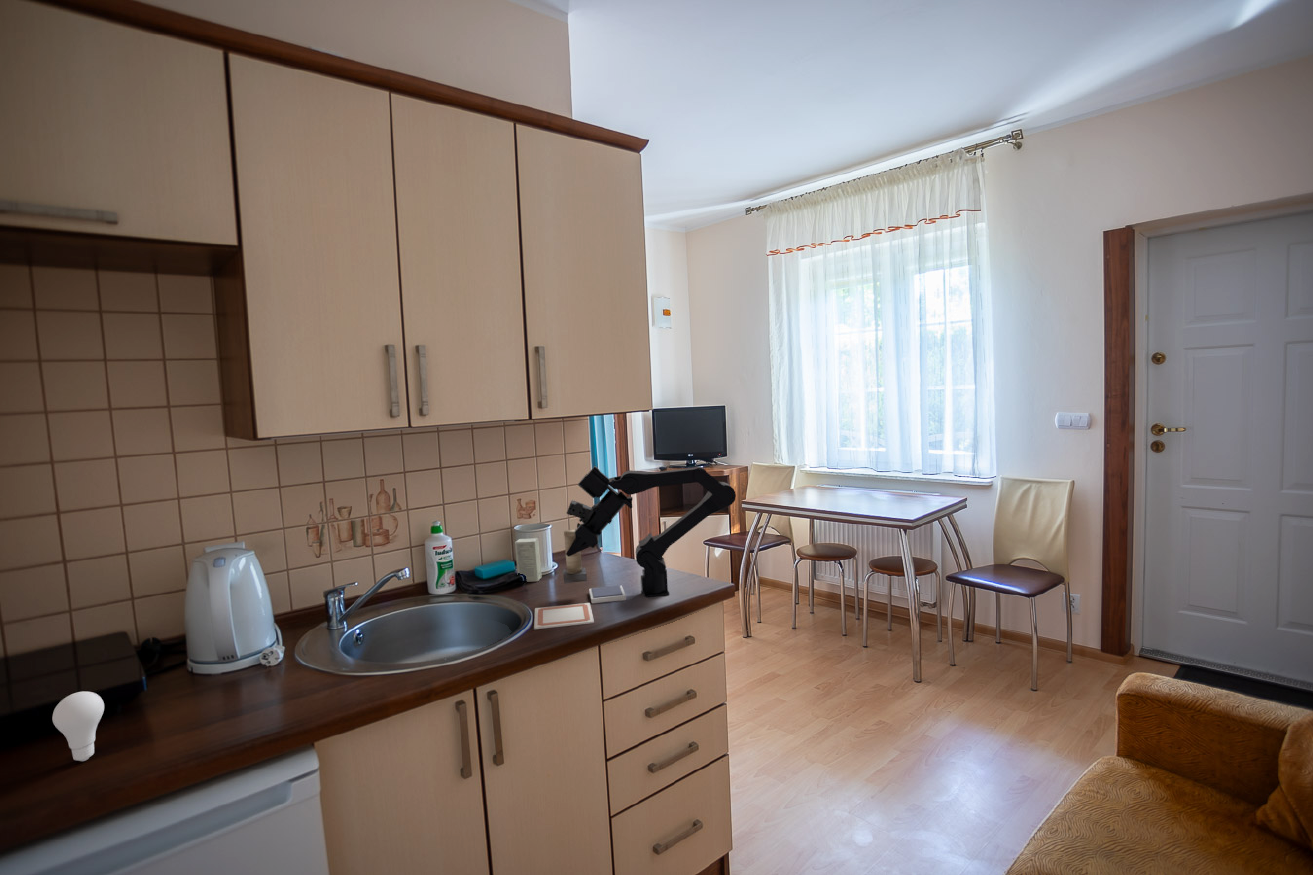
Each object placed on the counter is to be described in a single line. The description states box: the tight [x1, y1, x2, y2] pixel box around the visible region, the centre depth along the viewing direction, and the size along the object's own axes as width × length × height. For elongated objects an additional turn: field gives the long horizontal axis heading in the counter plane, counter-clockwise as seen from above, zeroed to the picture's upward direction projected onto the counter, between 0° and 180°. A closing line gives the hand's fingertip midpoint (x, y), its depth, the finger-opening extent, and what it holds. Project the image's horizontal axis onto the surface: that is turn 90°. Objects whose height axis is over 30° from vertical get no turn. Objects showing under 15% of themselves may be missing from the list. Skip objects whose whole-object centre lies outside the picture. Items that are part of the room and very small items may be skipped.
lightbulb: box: [52, 691, 105, 762], centre depth 102 cm, size 6×6×11 cm
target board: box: [533, 602, 595, 630], centre depth 159 cm, size 14×14×1 cm
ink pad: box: [588, 585, 627, 604], centre depth 172 cm, size 9×9×2 cm
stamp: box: [562, 529, 588, 584], centre depth 172 cm, size 6×6×13 cm
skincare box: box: [514, 537, 543, 583], centre depth 191 cm, size 6×4×12 cm
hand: (567, 553), depth 172 cm, fingers closed on stamp, 4 cm apart
